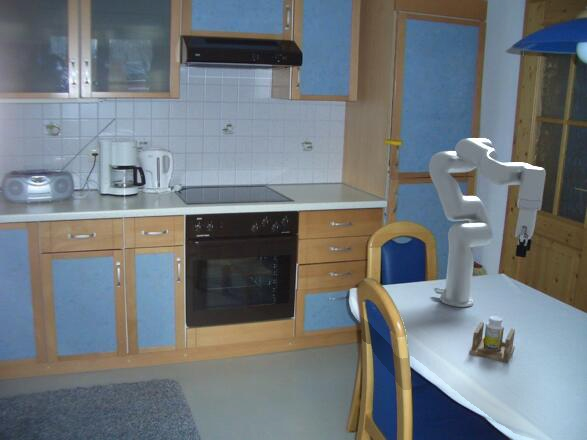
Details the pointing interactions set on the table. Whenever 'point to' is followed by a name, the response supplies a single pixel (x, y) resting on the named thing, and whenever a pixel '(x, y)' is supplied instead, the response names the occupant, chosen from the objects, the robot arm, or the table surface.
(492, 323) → the supplement bottle
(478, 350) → the holder
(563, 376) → the table surface
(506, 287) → the table surface
